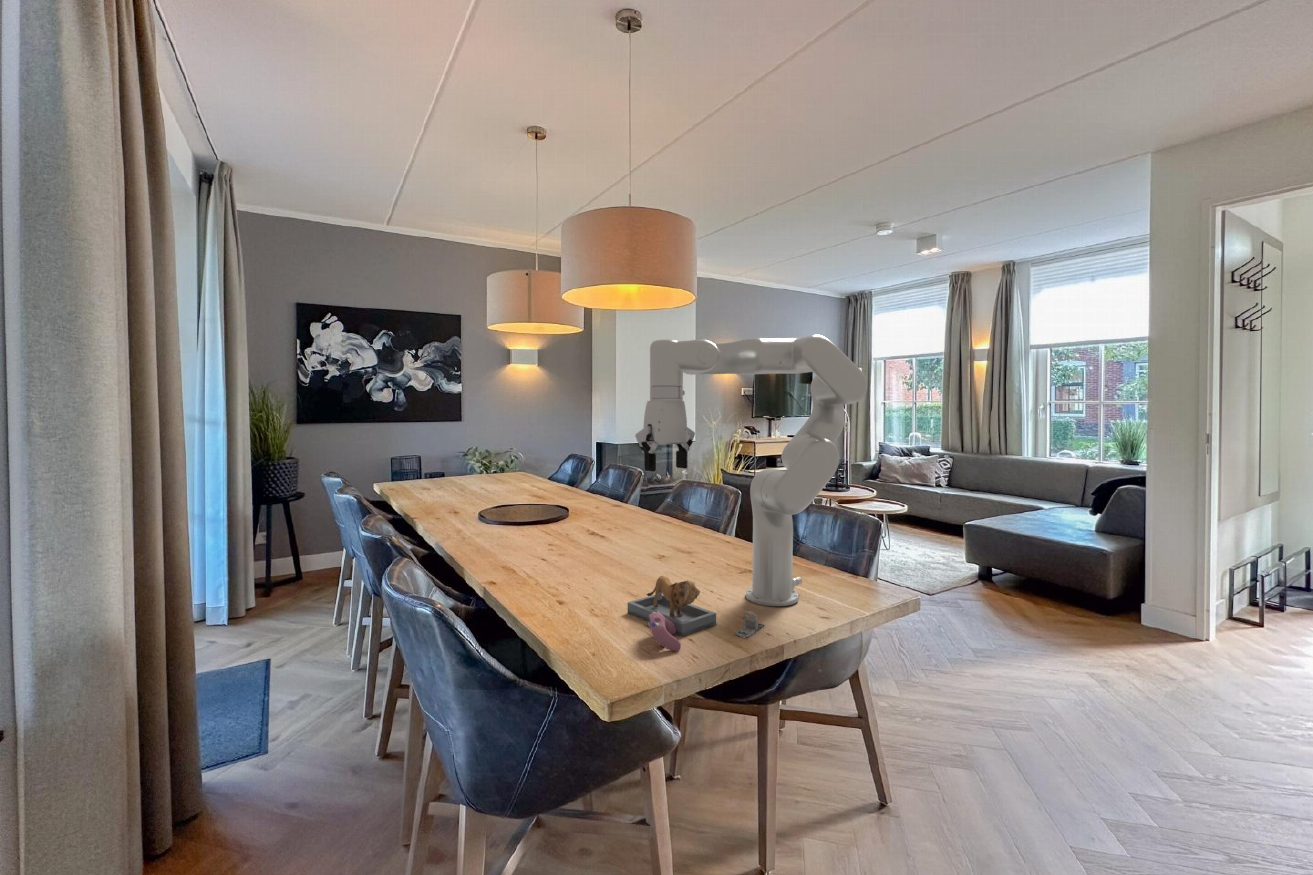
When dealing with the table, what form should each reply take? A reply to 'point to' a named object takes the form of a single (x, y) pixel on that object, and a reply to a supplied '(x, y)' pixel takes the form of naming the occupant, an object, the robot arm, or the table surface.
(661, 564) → the table surface
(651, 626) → the pink curved piece
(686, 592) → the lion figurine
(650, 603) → the slate tray
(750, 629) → the strap clip
